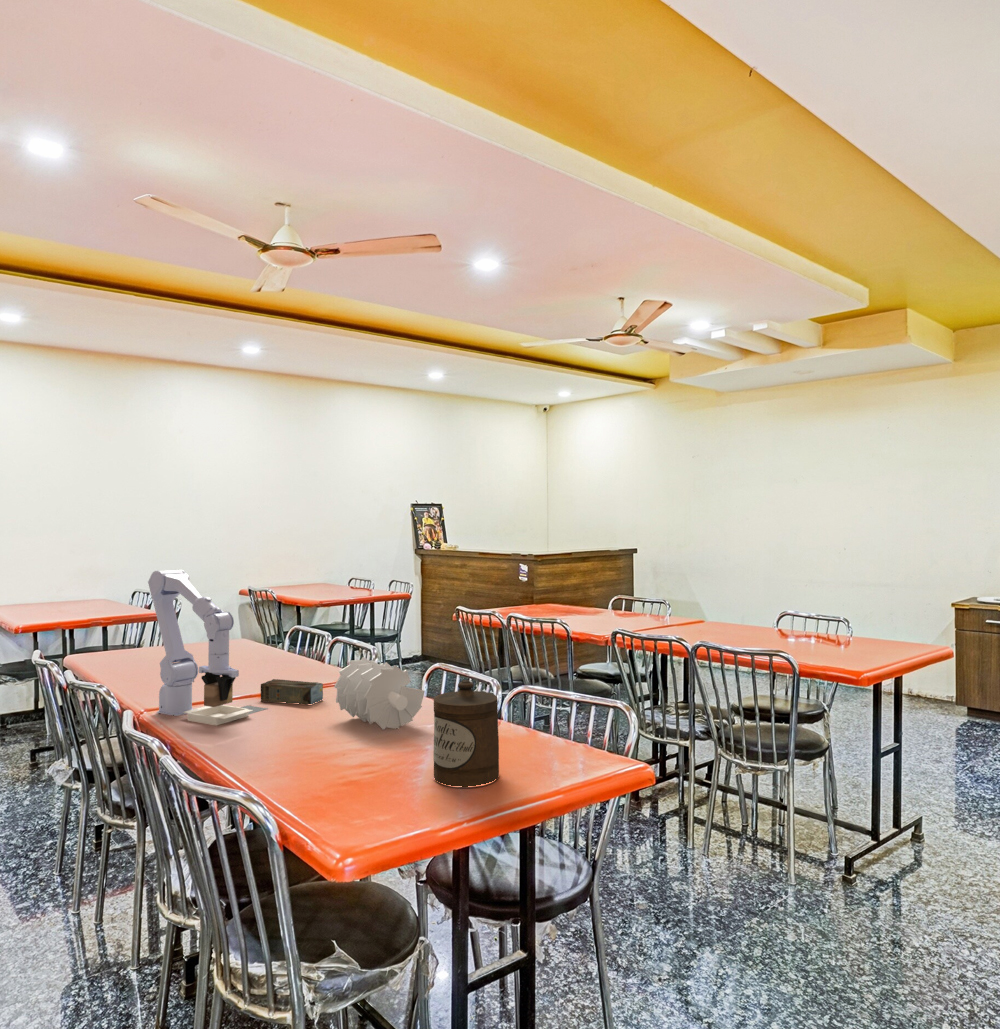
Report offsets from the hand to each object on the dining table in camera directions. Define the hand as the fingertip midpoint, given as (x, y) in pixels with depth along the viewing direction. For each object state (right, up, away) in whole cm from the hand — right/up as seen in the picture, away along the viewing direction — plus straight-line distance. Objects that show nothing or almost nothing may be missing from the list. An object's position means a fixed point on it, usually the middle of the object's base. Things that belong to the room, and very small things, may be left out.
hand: (218, 699), depth 220 cm
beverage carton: (+15, -7, +24) cm, 29 cm away
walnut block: (0, -1, 0) cm, 1 cm away
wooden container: (+76, -5, -51) cm, 92 cm away
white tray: (0, -6, 0) cm, 6 cm away
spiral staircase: (+48, -6, -4) cm, 48 cm away
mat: (+5, -6, +10) cm, 12 cm away
